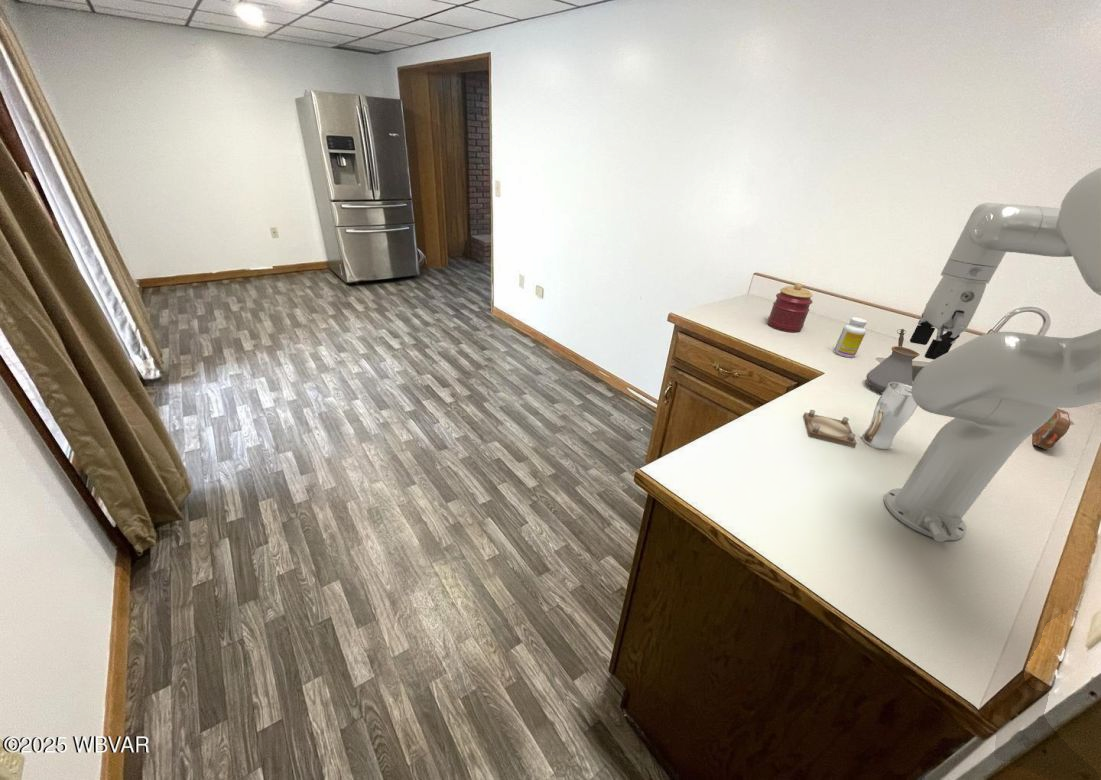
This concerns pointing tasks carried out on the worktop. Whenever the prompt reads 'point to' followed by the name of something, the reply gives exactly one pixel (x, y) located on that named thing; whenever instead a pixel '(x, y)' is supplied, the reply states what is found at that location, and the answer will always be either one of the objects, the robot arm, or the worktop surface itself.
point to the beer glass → (890, 415)
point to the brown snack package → (1052, 430)
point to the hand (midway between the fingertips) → (925, 350)
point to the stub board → (829, 429)
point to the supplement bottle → (851, 337)
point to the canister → (790, 309)
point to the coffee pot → (893, 367)
